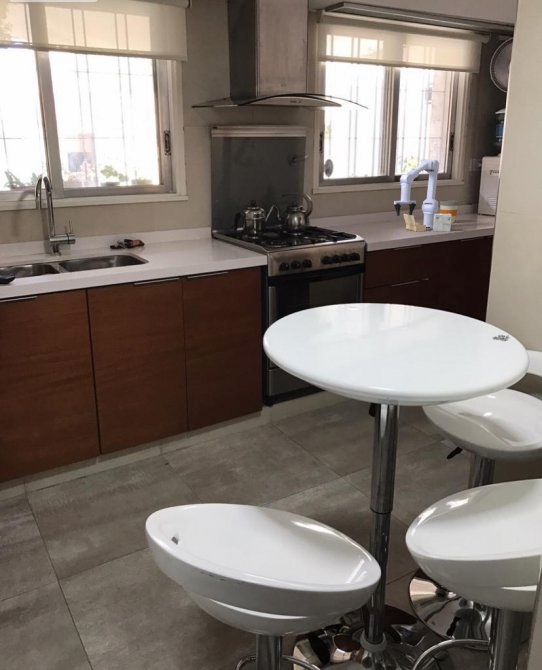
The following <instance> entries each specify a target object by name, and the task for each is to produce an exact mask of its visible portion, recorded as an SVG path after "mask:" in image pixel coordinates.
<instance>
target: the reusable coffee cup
mask: <svg viewBox="0 0 542 670" xmlns="http://www.w3.org/2000/svg"><path fill="white" fill-rule="evenodd" d="M439 205H440V206H439V207H440V208H439V214H451V222H454V223H455V220H456V216H457V213H458V206H459V201H458V200H453V199H449V200H448V199H444V200H440V203H439Z"/></svg>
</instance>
